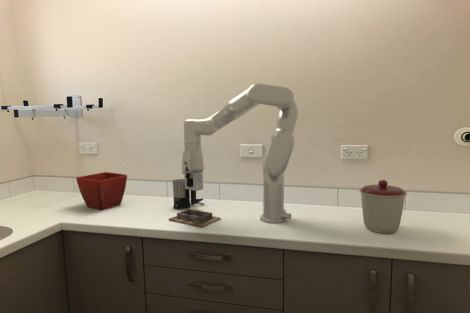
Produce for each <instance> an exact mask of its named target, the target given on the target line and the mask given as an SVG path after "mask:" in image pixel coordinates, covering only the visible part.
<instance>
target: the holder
mask: <svg viewBox="0 0 470 313" xmlns="http://www.w3.org/2000/svg"><path fill="white" fill-rule="evenodd" d="M220 220H222V217H220V216H214V215H213V212H210V211H204V210H199V209H193V208H187V209H184V210H182V211H179V212H176V215H175V216H173V217H170V218H168V221H169V222H174V223H178V224H184V225H187V226H188V225H189V226H192V227H197V228H201V229H202V228H204V227H207V226H209V225H211V224H213V223H217V222H218V221H220Z"/></svg>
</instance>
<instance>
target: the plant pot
mask: <svg viewBox="0 0 470 313" xmlns="http://www.w3.org/2000/svg"><path fill="white" fill-rule="evenodd" d="M75 179H76V183H77V187H78V189H79V192H80V196H82V199H83V201H84V204H85V206H86V207H87V208H90V209H94V210H99V211H103V210H107V209H110V208H113V207H116V206H120V205H122V202H123V198H124V195H125V191H126V186H127V180H128V174H123V173H116V172H109V171H108V172H107V171H104V172H98V173H93V174H88V175H82V176H77V177H76V178H75Z"/></svg>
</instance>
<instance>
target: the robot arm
mask: <svg viewBox="0 0 470 313" xmlns="http://www.w3.org/2000/svg"><path fill="white" fill-rule="evenodd" d="M294 98H295V95H294V93H293V91H292V90H291V89H290V88H287V87H283V86H277V85H271V84H264V83H253V84H252V85H251V86H249V88H246V90H244V91H243V92H241V93H240V94H238V95H237V96H236V97H234V98H232V99H230V100H229V101H228V102H227V103H226V104H225V105H224V106H223V107H222V108H221V109H220V110H218V111H217V112H215V113H213V115H211V116H209V117H208V118H204V119H195V118H194V119H193V118H191V119H190V118H189V119H185V120H183V139H184V140H183V142H184V145H183V146H184V149H183V151H182V157H181V159H182V160H181V170H182V171H181V174H183V176H184V175H185V176H186V178H187V187H193V178H192V173H193V172H194V171H204V169H205V167H204V158H203V150H202V140H201V139H202V137H201V136H212V135H215V134H216V133H217V132H218V131H220V130H221V129H222V128H224V127H225V126H228V125H229V124H230V123H232V122H234V121H236V120H238V119H239V118H241V117H242V116H244V115H246V114H247V113H248V112H251V110H252V109H254V108H256V107H258V106H259V105H263V106H269V107H270V106H271V107H276V108H277V110H278V115H277V119H276V124H275V125H274V129H273V131H272V134H271V137H270V146H269V149H268V152H267V153H266V154H265V155H264V156H263V159H262V182H263V183H262V184H263V186H262V188H263V190H262V193H263V194H262V198H263V199H262V201H263V202H262V205H263V208H262V210H263V211H262V212H263V214H261V215H260V216H259V219H260V221H262V222H265V223H270V224H281V223H284V222H286V221H288V219H289V220H292V218H293V217H292V213H289V212H287V210H286V209H285V198H284V197H285V176H284V175H285V174H284V173H285V171H286V169H287V168H288V164H289V162H290V159H291V156H292V152H293V150H294V145H295V138H294V131H295V128H296V124H297V120H298V106H297V104H296V103H297V102H296V101H295V100H294ZM189 173H190V175H189Z"/></svg>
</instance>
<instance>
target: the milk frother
mask: <svg viewBox="0 0 470 313" xmlns="http://www.w3.org/2000/svg"><path fill="white" fill-rule="evenodd" d="M171 182H172V191H173V192H172V193H173V209H175V210H187V209H191V206H195V205H197V204H199V203H200V202H202V201H203V200H204V198H197V191H195V190H189V189H185V178H179V179H177V178H176V179H173V180H171Z"/></svg>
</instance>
